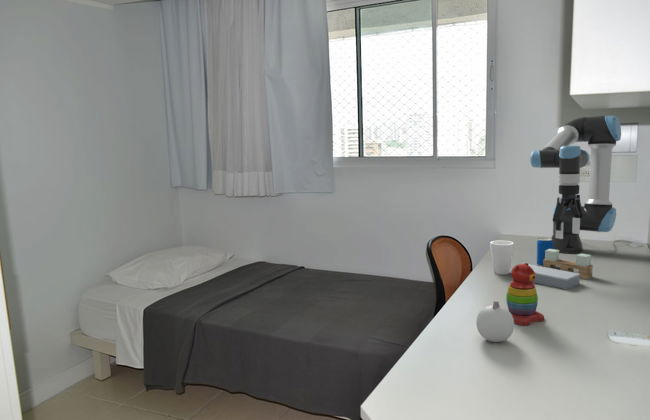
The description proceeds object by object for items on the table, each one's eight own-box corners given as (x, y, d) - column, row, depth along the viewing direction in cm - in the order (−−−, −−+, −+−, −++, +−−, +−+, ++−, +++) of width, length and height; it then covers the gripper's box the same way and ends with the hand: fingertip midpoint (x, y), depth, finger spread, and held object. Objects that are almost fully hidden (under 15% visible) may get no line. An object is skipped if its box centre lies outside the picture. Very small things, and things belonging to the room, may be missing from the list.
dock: (526, 273, 209) (526, 263, 209) (579, 283, 192) (579, 273, 191) (513, 277, 203) (513, 268, 203) (566, 289, 186) (566, 279, 185)
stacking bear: (523, 327, 152) (524, 270, 150) (498, 317, 161) (498, 264, 159) (547, 319, 157) (548, 265, 155) (521, 310, 166) (522, 258, 164)
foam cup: (489, 274, 209) (489, 244, 208) (490, 269, 218) (490, 240, 216) (513, 276, 206) (513, 245, 204) (513, 270, 214) (514, 240, 213)
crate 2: (580, 263, 203) (580, 253, 202) (590, 264, 199) (591, 255, 199) (575, 264, 200) (576, 255, 200) (585, 266, 197) (586, 256, 196)
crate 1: (549, 257, 213) (550, 248, 212) (559, 259, 210) (559, 250, 209) (545, 259, 210) (545, 250, 210) (554, 261, 207) (554, 251, 207)
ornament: (509, 350, 137) (509, 308, 135) (472, 343, 142) (472, 303, 140) (517, 337, 145) (517, 297, 143) (481, 331, 151) (481, 293, 149)
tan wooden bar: (549, 268, 214) (549, 257, 214) (592, 276, 200) (592, 264, 199) (543, 271, 211) (543, 259, 211) (586, 279, 197) (586, 267, 196)
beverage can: (549, 263, 222) (550, 237, 221) (554, 267, 216) (555, 240, 214) (534, 263, 223) (535, 237, 221) (539, 267, 217) (539, 240, 215)
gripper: (575, 181, 211) (573, 230, 214) (543, 186, 196) (542, 239, 199) (593, 182, 205) (591, 232, 208) (562, 187, 190) (561, 241, 193)
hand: (567, 235), depth 203 cm, fingers open, 13 cm apart
